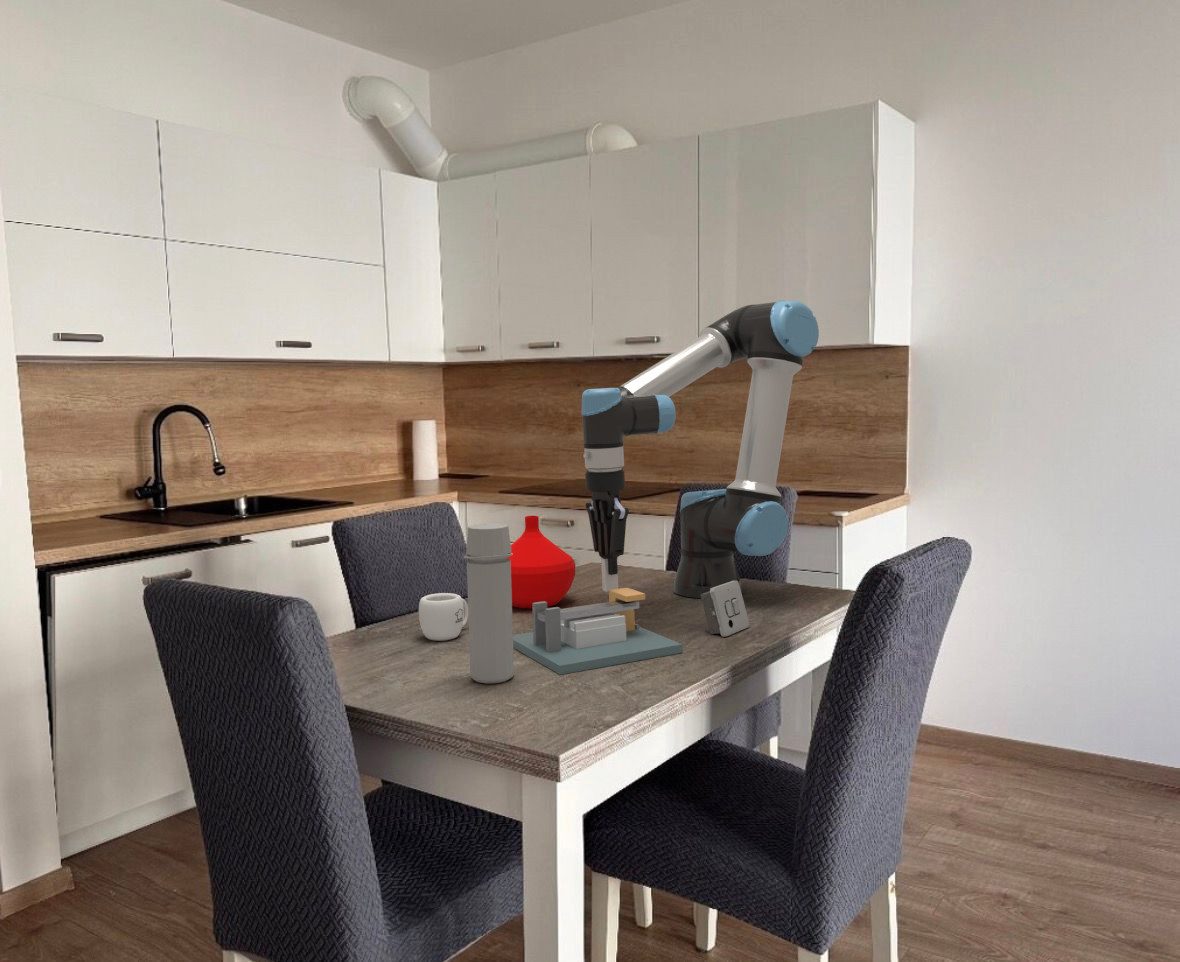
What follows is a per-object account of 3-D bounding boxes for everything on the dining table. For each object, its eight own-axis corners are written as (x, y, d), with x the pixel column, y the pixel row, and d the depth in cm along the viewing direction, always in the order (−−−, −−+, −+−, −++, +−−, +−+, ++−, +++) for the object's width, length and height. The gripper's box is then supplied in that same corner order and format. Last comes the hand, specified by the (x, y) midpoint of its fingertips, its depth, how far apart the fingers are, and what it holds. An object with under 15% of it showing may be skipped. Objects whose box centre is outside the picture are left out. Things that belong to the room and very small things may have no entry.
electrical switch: (725, 638, 177) (720, 588, 177) (701, 637, 181) (697, 588, 180) (750, 628, 185) (746, 580, 184) (727, 626, 188) (723, 579, 188)
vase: (585, 609, 202) (583, 519, 200) (498, 616, 198) (495, 524, 196) (565, 592, 220) (563, 509, 218) (486, 598, 215) (483, 513, 214)
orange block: (628, 627, 181) (627, 587, 180) (645, 634, 175) (645, 593, 175) (609, 630, 179) (608, 590, 178) (627, 637, 174) (626, 596, 173)
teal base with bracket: (619, 626, 188) (619, 580, 187) (682, 652, 169) (681, 602, 168) (506, 644, 177) (505, 595, 176) (559, 674, 157) (558, 620, 156)
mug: (444, 645, 177) (443, 603, 176) (410, 640, 181) (408, 599, 180) (485, 630, 187) (484, 591, 186) (451, 625, 191) (450, 587, 190)
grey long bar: (630, 605, 178) (630, 598, 177) (639, 608, 175) (639, 601, 175) (537, 619, 169) (537, 612, 169) (545, 622, 166) (544, 615, 166)
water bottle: (521, 682, 154) (516, 527, 151) (472, 687, 152) (466, 531, 149) (509, 666, 163) (504, 520, 160) (463, 671, 160) (457, 523, 158)
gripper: (571, 468, 187) (578, 587, 190) (603, 473, 176) (610, 599, 179) (605, 465, 191) (611, 581, 194) (639, 469, 179) (644, 593, 182)
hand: (610, 589), depth 186 cm, fingers closed
